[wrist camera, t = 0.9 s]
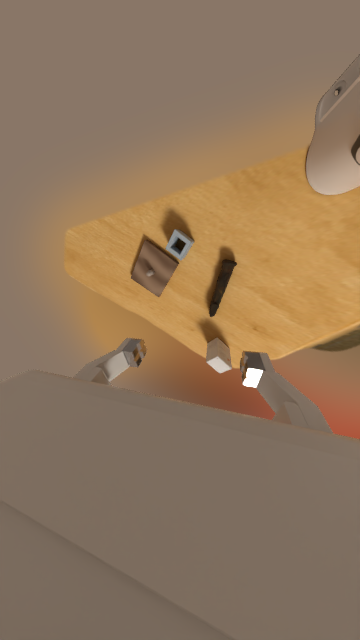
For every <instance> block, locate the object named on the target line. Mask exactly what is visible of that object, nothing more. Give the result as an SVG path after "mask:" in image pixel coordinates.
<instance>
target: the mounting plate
mask: <svg viewBox="0 0 360 640" xmlns="http://www.w3.org/2000/svg"><path fill="white" fill-rule="evenodd" d="M178 264H179V263H178V262H177V261H175V260H174V259H172V258H171V257H170V256H168V255H167V254H166V253H164V252H163V251H162V250H160V249H159V248H158V247H156V246H155V245H154V244H152V243H151V242H150V241H148V240H145V241H144V243H143V246H142V249H141V252H140V254H139V257H138V260H137V262H136V265H135V268H134V270H133V273H132V276H131V279H133V280H134V281H136V282H137V283H139V284H140V285H142V286H143V287H144V288H146V289H147V290H149V291H150V292H152V293H153V294H155V295H156V296H158V297H159V296H160V295H161V293H162V292H163V290H164V288H165V287H166V285H167V283H168V281H169V280H170V278H171V276H172V275H173V273H174V271H175V269H176V268H177V266H178Z"/></svg>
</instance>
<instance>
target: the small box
mask: <svg viewBox="0 0 360 640" xmlns="http://www.w3.org/2000/svg"><path fill="white" fill-rule="evenodd" d="M206 362H207V363H208V364H209V365H210V366H212V367H213V368H214V369H215V370H216V371H218V372H219V373H222V372H225V371H227V370H230V369H232V366H231V357H230V349H229V348H228V347H227V346H226V345H225V344H224V343H223V342H222V341H221V340H220V339H219V338H218V337H217V338H215V339H214V340H212V341H210V342H209V343H207V356H206Z"/></svg>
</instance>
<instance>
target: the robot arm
mask: <svg viewBox="0 0 360 640" xmlns="http://www.w3.org/2000/svg"><path fill="white" fill-rule="evenodd" d="M335 90H338V95H337V96H335V95H334V92H335ZM306 174H307V178H308V181H309V183H310V185H311V187H312V188H313V189H314V190H315V191H317V192H319V193H321V194H325V195H336V194H341V193H344V192H347V191H350V190H352V189H354V188H357V187H359V186H360V55H359V56H358V57H357V58H356V59H355V60H354V61H353V63H352V64H351V65H350V66H349V67H348V69H346V71H345V72H344V73H343V74H342V75H341V76H340V77H339V79H338V80H337V81H336V82H335V83H334V84H333V85H332V87H331V88H330V89H329V90H328V91H327V92H326V93H325V95H324V96H323V97H322V98H321V100H320V101H319V103H318V105H317V109H316V116H315V132H314V136H313V139H312V142H311V145H310V148H309V151H308V155H307V162H306ZM144 343H145V342H144V340H141V339H133V338H126V339H125V341H124V342H123V343H122V344H121V345H120V346H119V347H118V348H117V350H114V351H112V352H110V353H108V354H106V355H104V356H102V357H100V358H98V359H96V360H94V361H92V362H90V363H88V364H86V365H85V366H84V367H83V368H82V369H81V370H80V371H79V372H78V373H77V374H76V375H75V376H74V377H73V378H72V377H67V376H63V375H58V374H54V373H48V372H44V371H40V370H34V369H33V370H28V371H25V372H23V373H19V374H17V375H14V376H12V377H10V378H7V379H5V380H2V381H0V640H360V439H355V438H351V437H346V436H342V435H337V434H333V432H332V430H331V429H330V427H329V425H328V424H327V422H326V420H325V418H324V417H323V415H322V413H321V412H320V410H319V408H318V406H316V405H315V404H314V403H313V402H312V401H311V400H309V399H308V398H307V397H306V396H304V395H303V394H302V393H301V392H300V391H299V390H297V389H296V388H295V387H294V386H293V385H291V384H290V383H289V382H288V381H287V380H286V379H285V378H283V377H282V376H281V375H280V374H279V373H275V371H274V368H273V366H272V363H271V361H270V359H269V356H268V354H267V353H261V352H251V351H243V352H242V358H241V360H240V370H241V372H242V382H243V385H246V386H251V387H256V388H257V390H258V391H259V392H260V394H261V395H262V396H263V397H264V399H265V400H266V401H267V403H268V404H269V405H270V407H271V408H272V409H273V410H274V412H275V413H276V415H275V416H274V418H273V419H272V420H267V419H263V418H258V417H253V416H249V415H244V414H239V413H235V412H230V411H225V410H220V409H216V408H212V407H207V406H202V405H198V404H192V403H188V402H184V401H179V400H174V399H169V398H165V397H160V396H156V395H151V394H146V393H141V392H137V391H132V390H127V389H123V388H118V387H114V386H112V385H111V383H110V381H111V380H113V379H114V378H115V377H117V376H118V375H119V374H121V373H122V372H123V371H124V370H126V369H127V368H128V367H129V366H131V367H138V366H139V365H140V363H141V361H142V360H141V359H142V358H144V356H145V355H146V347H145V346H144Z"/></svg>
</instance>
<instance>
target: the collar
mask: <svg viewBox="0 0 360 640" xmlns="http://www.w3.org/2000/svg"><path fill="white" fill-rule="evenodd" d="M179 238H180V239H181V240H182V241H184V242H185V243H186V245H185V247H184V249H183V250H182V251H181V250H179V249H178V248H177V247H176V246H175V245H176V243H177V241H178V240H179ZM193 243H194V241H193V240H192V239H191V238H189V237H188V236H187V235H186V234H184V233H183V232H182V231H181V230H177V229H175V230H174V232H173V234H172V236H171V238H170V240H169V242H168V244H167V247H166V250H168V251H169V252H170V253H172V254H173V255H174V256H176V257H177V258H178V259H180V260H182V259H184V258H185V256H186V255H187V253H188V251H189V250H190V248H191V246H192V245H193Z"/></svg>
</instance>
